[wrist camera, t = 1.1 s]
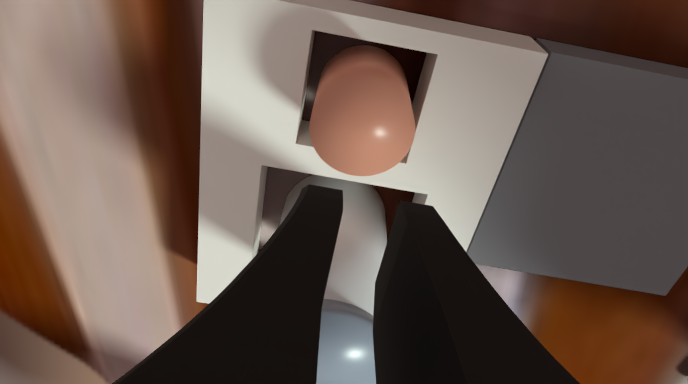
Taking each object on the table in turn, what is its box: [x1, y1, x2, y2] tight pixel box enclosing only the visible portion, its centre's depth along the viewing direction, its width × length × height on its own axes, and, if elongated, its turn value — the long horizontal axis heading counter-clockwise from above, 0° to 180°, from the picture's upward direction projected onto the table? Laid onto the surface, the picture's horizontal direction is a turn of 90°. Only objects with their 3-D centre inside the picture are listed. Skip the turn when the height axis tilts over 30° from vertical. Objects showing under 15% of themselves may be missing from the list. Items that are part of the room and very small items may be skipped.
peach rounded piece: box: [309, 45, 415, 176], centre depth 14 cm, size 3×3×3 cm
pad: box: [466, 38, 688, 296], centre depth 17 cm, size 8×8×2 cm
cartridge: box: [279, 175, 387, 384], centre depth 16 cm, size 4×4×7 cm
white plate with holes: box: [197, 0, 548, 303], centre depth 17 cm, size 10×12×2 cm
